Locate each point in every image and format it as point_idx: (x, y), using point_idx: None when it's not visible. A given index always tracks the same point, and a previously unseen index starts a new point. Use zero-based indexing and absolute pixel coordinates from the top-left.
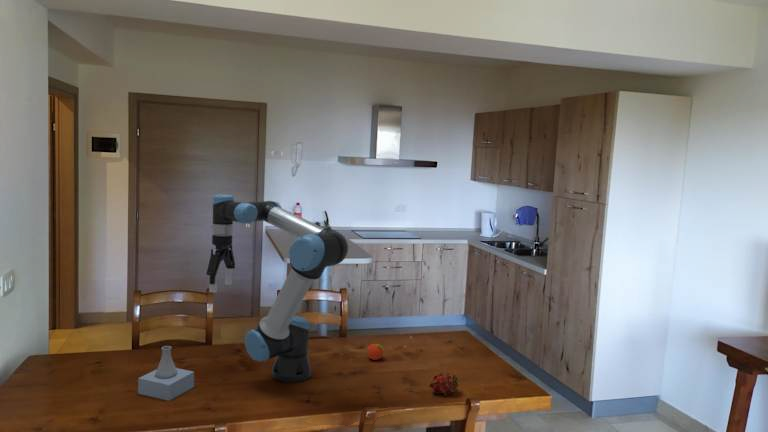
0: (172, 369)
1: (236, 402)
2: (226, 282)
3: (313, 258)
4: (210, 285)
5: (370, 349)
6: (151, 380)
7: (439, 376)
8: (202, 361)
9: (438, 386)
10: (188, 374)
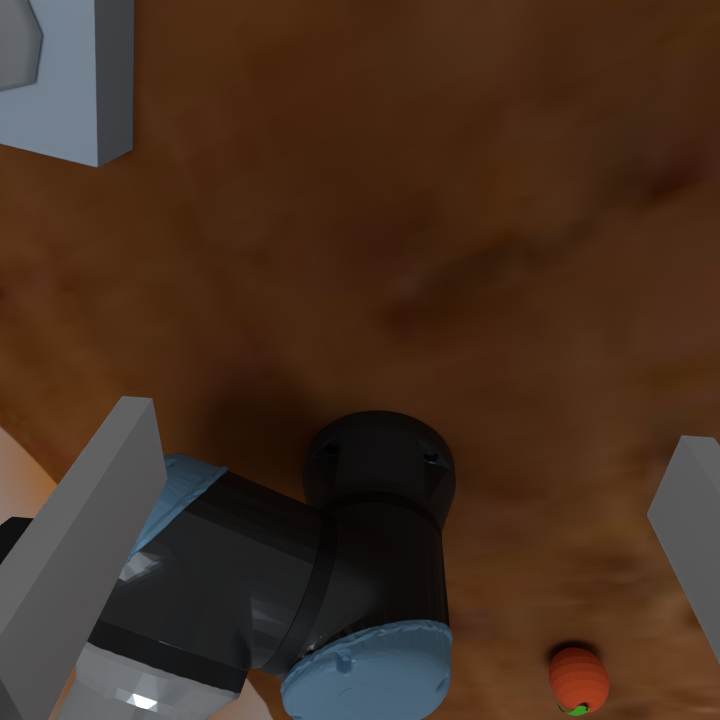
0: None
1: (85, 363)
2: (686, 483)
3: None
4: (76, 482)
5: (564, 683)
6: None
7: None
8: (463, 36)
9: None
10: (54, 153)
